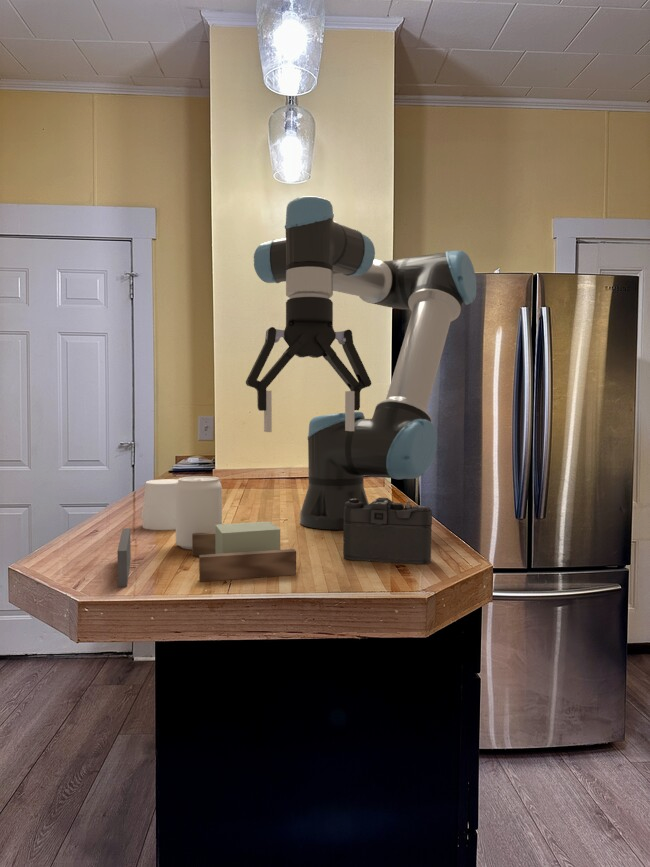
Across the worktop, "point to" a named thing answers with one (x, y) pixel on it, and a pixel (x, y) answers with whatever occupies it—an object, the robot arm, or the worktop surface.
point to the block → (246, 537)
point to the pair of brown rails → (239, 561)
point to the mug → (159, 505)
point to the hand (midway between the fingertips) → (309, 431)
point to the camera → (387, 532)
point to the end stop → (124, 557)
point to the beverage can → (197, 507)
